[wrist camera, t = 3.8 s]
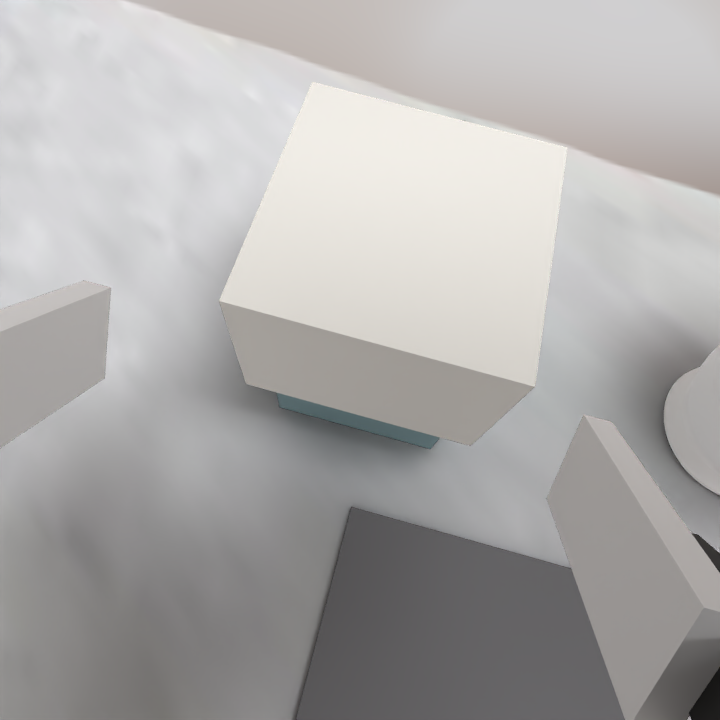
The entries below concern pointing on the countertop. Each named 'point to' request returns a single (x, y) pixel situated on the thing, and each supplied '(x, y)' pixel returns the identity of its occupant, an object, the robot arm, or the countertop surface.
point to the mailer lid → (398, 266)
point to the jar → (697, 421)
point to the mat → (451, 633)
